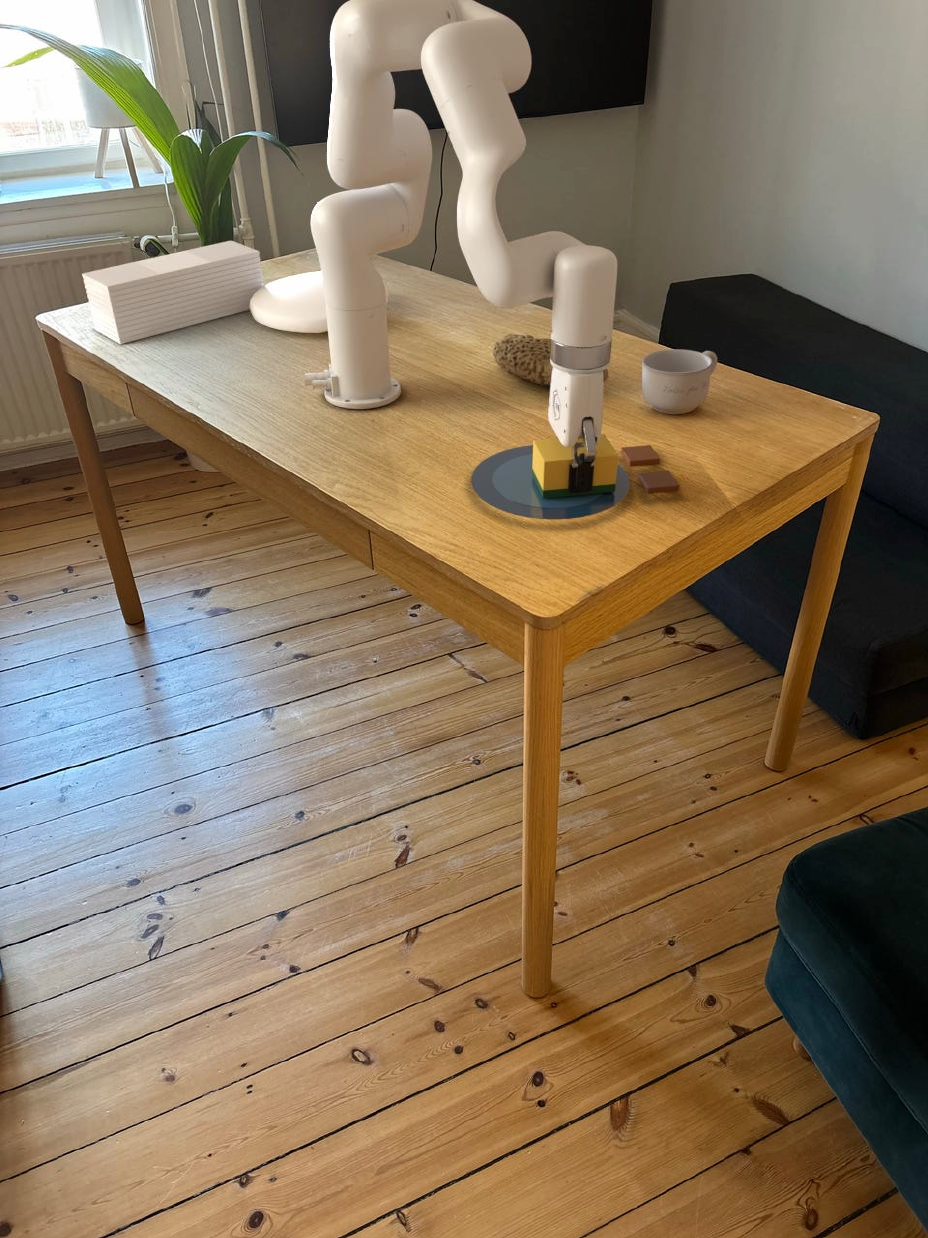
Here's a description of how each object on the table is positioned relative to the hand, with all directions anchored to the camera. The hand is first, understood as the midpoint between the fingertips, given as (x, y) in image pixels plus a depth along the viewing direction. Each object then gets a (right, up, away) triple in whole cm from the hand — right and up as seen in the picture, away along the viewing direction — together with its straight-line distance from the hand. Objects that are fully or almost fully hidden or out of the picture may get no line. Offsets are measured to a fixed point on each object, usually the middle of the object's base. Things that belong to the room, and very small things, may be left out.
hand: (573, 477), depth 134 cm
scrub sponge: (0, -1, +1) cm, 1 cm away
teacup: (+20, +15, +25) cm, 35 cm away
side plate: (-3, -1, +3) cm, 4 cm away
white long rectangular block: (-71, +41, +62) cm, 102 cm away
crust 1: (+10, +3, +8) cm, 13 cm away
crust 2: (+12, -2, +1) cm, 12 cm away
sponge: (0, +21, +34) cm, 40 cm away
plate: (-43, +41, +62) cm, 86 cm away
